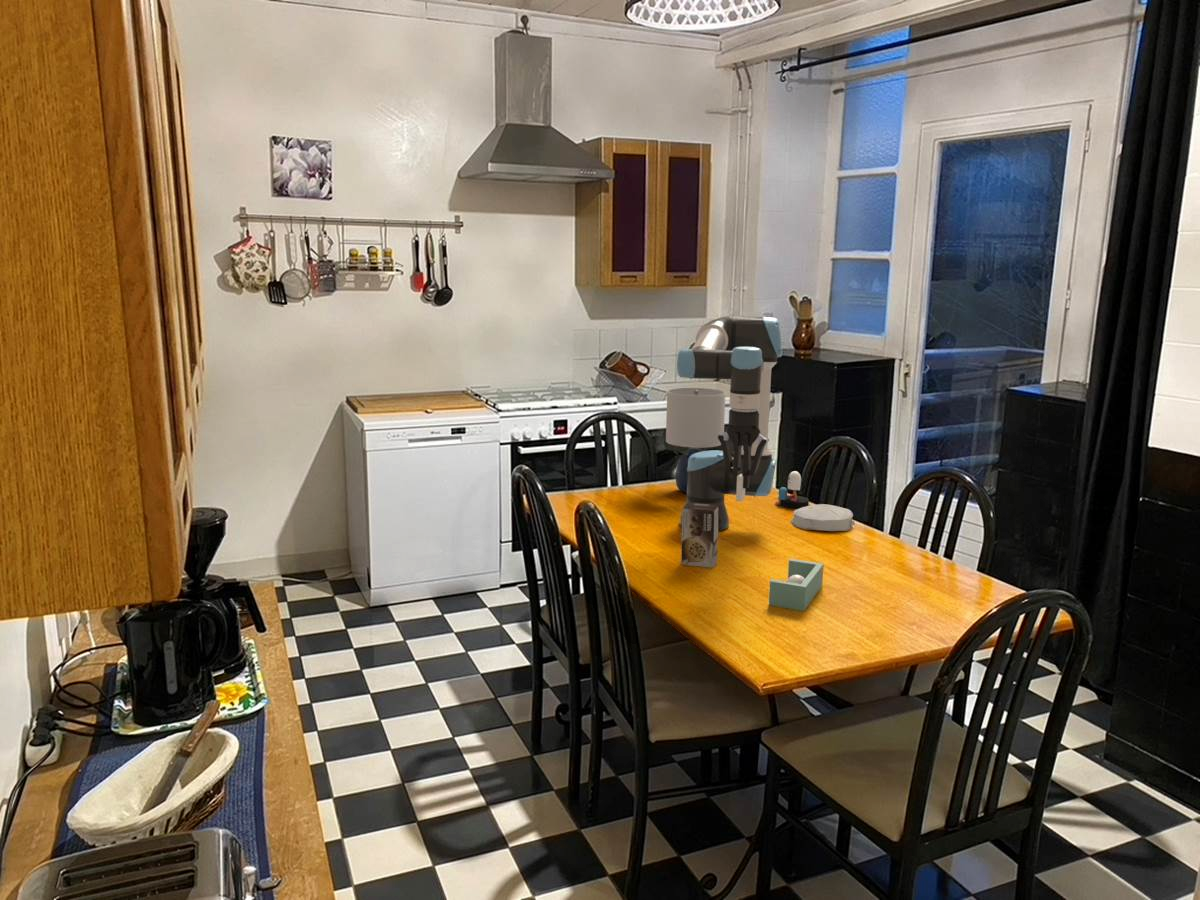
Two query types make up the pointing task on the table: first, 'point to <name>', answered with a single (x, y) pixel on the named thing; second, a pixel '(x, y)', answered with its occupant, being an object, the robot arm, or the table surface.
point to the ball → (796, 579)
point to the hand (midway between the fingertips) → (740, 499)
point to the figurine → (793, 500)
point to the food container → (823, 518)
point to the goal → (797, 586)
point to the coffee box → (700, 534)
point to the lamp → (693, 423)
